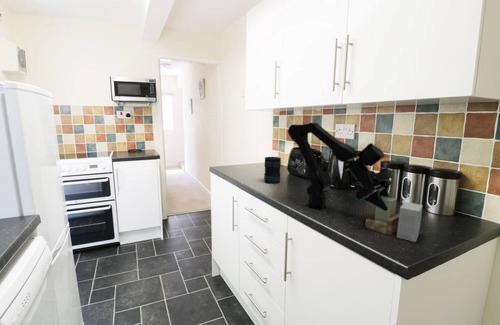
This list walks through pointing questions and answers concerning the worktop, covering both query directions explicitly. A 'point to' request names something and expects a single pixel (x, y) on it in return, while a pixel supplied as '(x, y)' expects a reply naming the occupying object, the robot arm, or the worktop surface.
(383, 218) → the green rectangular block
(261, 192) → the worktop surface
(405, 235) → the small box
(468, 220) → the worktop surface
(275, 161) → the storage jar
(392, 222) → the wooden stepped block
